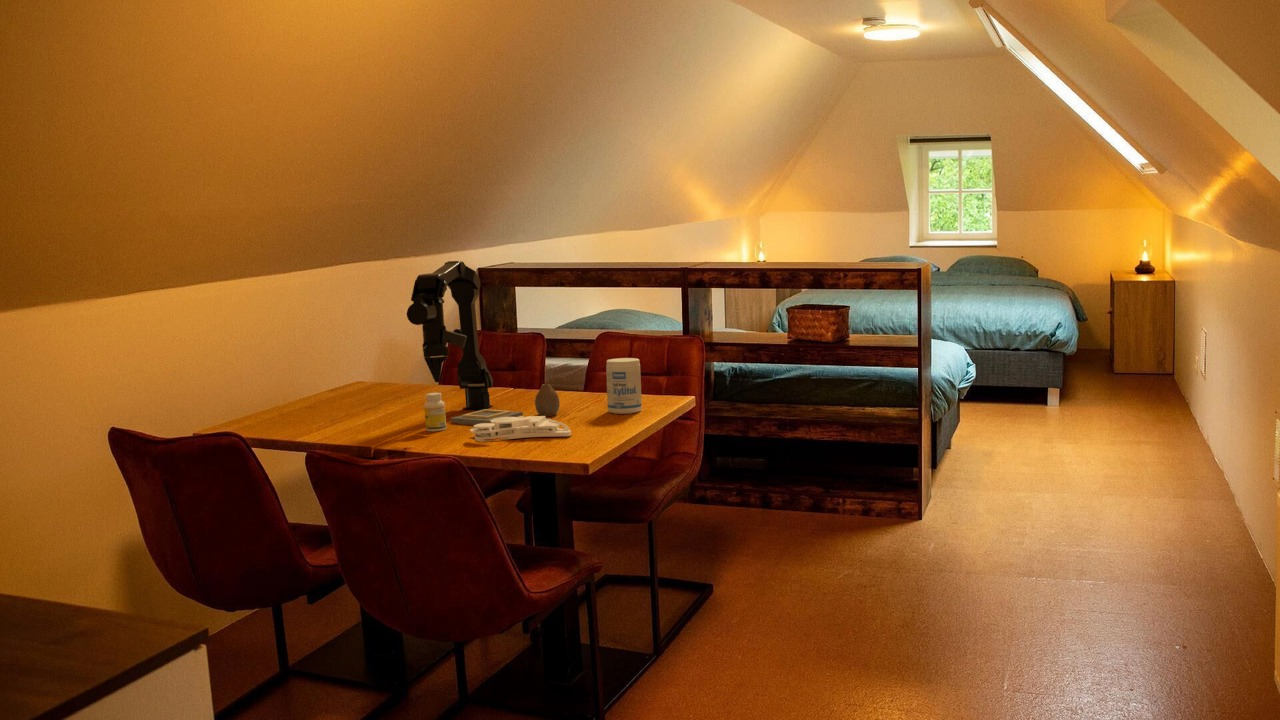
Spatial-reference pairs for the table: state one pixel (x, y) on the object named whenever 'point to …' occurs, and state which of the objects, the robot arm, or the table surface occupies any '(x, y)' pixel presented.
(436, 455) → the table surface
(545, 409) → the vase
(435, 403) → the supplement bottle
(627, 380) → the supplement tub
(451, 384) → the table surface
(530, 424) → the molded plastic bracket
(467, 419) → the grey square frame tile
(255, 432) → the table surface
